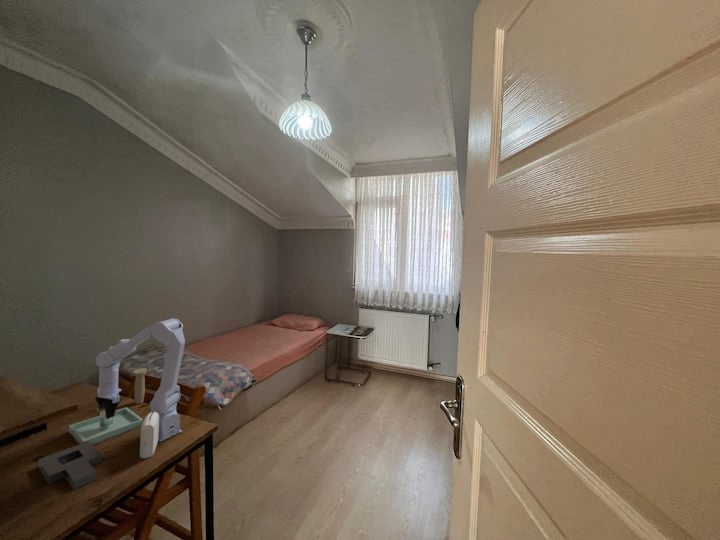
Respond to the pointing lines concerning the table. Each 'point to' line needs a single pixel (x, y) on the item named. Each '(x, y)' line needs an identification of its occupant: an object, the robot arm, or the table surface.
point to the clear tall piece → (104, 417)
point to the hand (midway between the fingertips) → (107, 415)
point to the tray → (95, 434)
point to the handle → (139, 385)
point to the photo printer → (149, 435)
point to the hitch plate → (71, 465)
